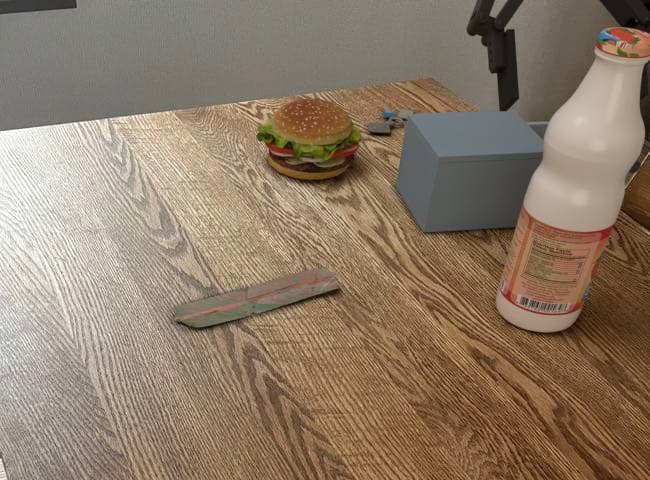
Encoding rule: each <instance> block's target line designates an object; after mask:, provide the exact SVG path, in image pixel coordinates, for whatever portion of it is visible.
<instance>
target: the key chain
mask: <svg viewBox="0 0 650 480" xmlns="http://www.w3.org/2000/svg"><path fill="white" fill-rule="evenodd" d="M382 106H383V109H384V111H382V115H383V116H384V117H385V118H388V120H387V121H383V122H375V121H373V122H371V121H370V122H368V123H367V127H368V132H370V133H378V134H379V133H380V134H390V133H391V127H393V126H401V125H403V124H404V123H407V117H408V114H415V111H413V110H409V109H407V108H402V107H401V108H400V109H399V110H400V111H398V114H396V113H395V112H393V110H392V108H391V107H390V105H389V104H388V103H383V104H382Z"/></svg>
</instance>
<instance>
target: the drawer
mask: <svg viewBox="0 0 650 480" xmlns="http://www.w3.org/2000/svg"><path fill="white" fill-rule="evenodd" d="M525 122H526V123H527V124H528V125H529V126H530V127H531V128H532V129H533V130H534V131H535V132H536V133H537V134H538V135H539V137H540V138H541V139H542V140H543V141H544V135H545V132H546V129H547V126H548V124H549V122H550V120H549V121H548V120H545V121H525ZM641 167H642V163H641V161H639V160H638V159H637V160H636V162H635V163H634V165H633V166H632V167H631V169H630V170H629V172H628V173H631V174H635V173H637V172H638V171H639V170H640V169H641Z"/></svg>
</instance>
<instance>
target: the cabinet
mask: <svg viewBox="0 0 650 480" xmlns="http://www.w3.org/2000/svg"><path fill="white" fill-rule="evenodd" d="M406 121H407V122H405V129H404V135H403V141H402V147H401V153H400V158H399V164H398V169H397V170H398V171H397V176H396V182H395V188H396V190H397V192H398V193H399V195H400V197H401V198H402V200H403V202H404V203H405V205H406V206H407V208H408V209H409V211H410V213H411V214H412V216H413V218H414V220H415V222H416V223H417V224H418V226H419V228H420V229H421V231H422V232H423V233H439V232H455V231H471V230H474V231H475V230H490V229H505V228H506V229H507V228H516V226H517V222H518V219H519V215H520V212H521V209H522V205H523V201H524V197H525V194H526V191H527V188H528V186H529V183H530V180H531V178H532V176H533V174H534V172H535V170H536V169H537V168H538V167H539V165H540V164H541V162H542V159H543V142H544V141H543V140H542V139H541V138H540V137H539V135H538V134H537V133H536V132H535V131H534V130H533V129H532V128H531V127H530V126H529V125H528V124H527V123H526V122H527V121H526V120H524V118H523V117H522V116H521V115H520V114H519V113H518V112H517V111H516V110H515V109H508V110H507V111H501V112H500V111H499V110H478V111H476V110H475V111H447V112H446V111H445V112H423V113H419V112H418V113H413V114H408V117H407V119H406Z"/></svg>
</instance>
